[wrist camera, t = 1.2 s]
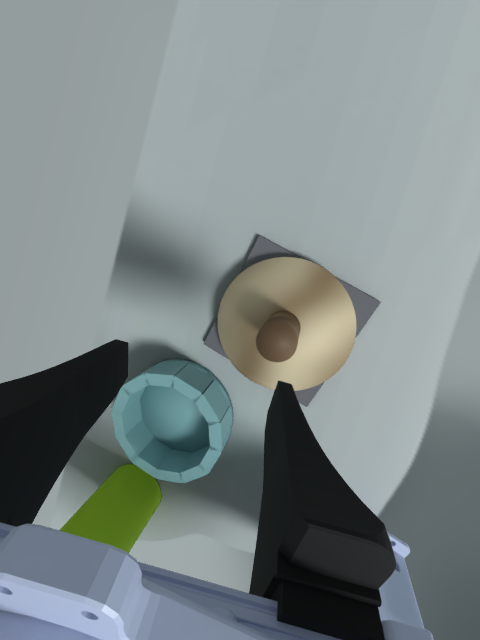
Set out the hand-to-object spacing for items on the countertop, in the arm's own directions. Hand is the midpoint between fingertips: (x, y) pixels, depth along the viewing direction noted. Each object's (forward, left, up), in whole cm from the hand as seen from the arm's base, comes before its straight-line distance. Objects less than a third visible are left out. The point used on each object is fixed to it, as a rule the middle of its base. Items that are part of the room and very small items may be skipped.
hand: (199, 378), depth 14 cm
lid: (-2, -2, -11) cm, 11 cm away
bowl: (+2, +10, -11) cm, 15 cm away
